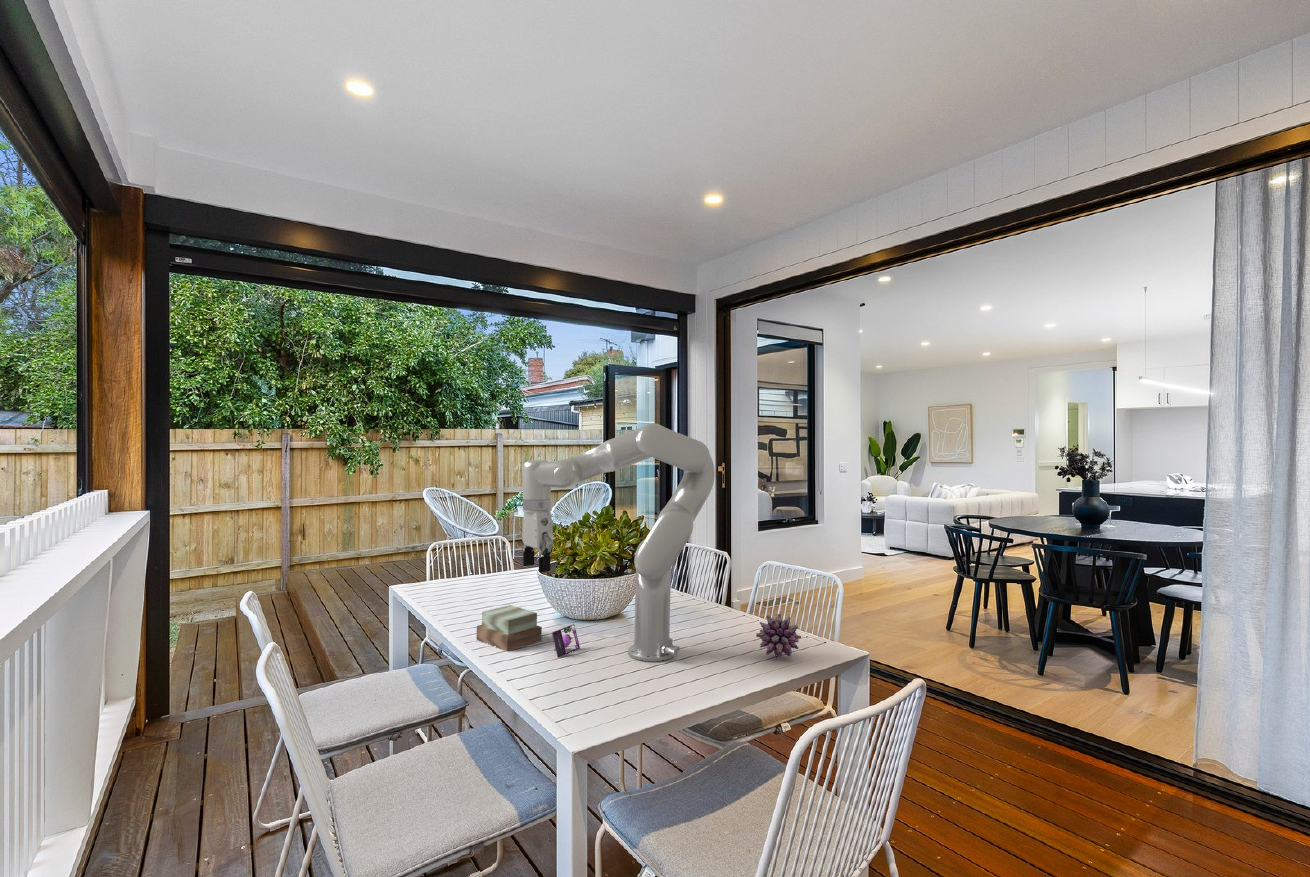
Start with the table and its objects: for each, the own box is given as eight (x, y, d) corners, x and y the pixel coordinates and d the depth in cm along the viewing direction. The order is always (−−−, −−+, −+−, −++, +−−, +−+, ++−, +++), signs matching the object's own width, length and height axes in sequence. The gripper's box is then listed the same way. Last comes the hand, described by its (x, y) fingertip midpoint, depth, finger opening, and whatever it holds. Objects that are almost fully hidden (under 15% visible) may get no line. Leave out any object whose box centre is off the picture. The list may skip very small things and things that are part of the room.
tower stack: (541, 640, 181) (542, 612, 181) (507, 651, 171) (507, 621, 171) (510, 630, 189) (511, 603, 189) (476, 639, 180) (477, 611, 180)
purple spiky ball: (786, 669, 162) (787, 623, 162) (747, 657, 170) (748, 613, 170) (808, 658, 171) (809, 614, 171) (770, 647, 179) (771, 605, 179)
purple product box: (554, 631, 168) (576, 623, 176) (540, 634, 171) (562, 626, 178) (560, 657, 167) (582, 648, 175) (546, 660, 170) (568, 650, 177)
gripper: (564, 507, 168) (563, 572, 168) (535, 502, 182) (535, 561, 182) (538, 509, 163) (537, 575, 163) (510, 503, 177) (510, 564, 177)
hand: (536, 568), depth 172 cm, fingers open, 9 cm apart
